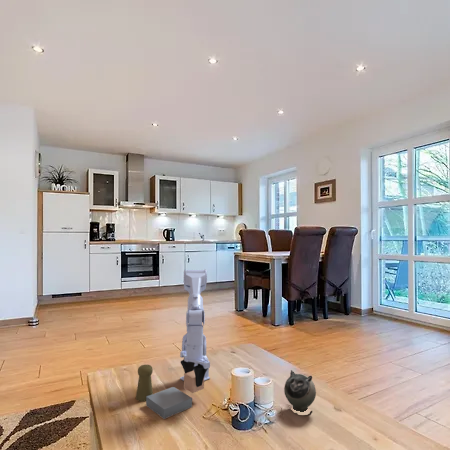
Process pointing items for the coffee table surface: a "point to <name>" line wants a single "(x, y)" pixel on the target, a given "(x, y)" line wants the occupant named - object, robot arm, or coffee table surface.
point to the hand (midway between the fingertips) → (194, 383)
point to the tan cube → (191, 382)
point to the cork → (144, 382)
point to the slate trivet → (168, 402)
